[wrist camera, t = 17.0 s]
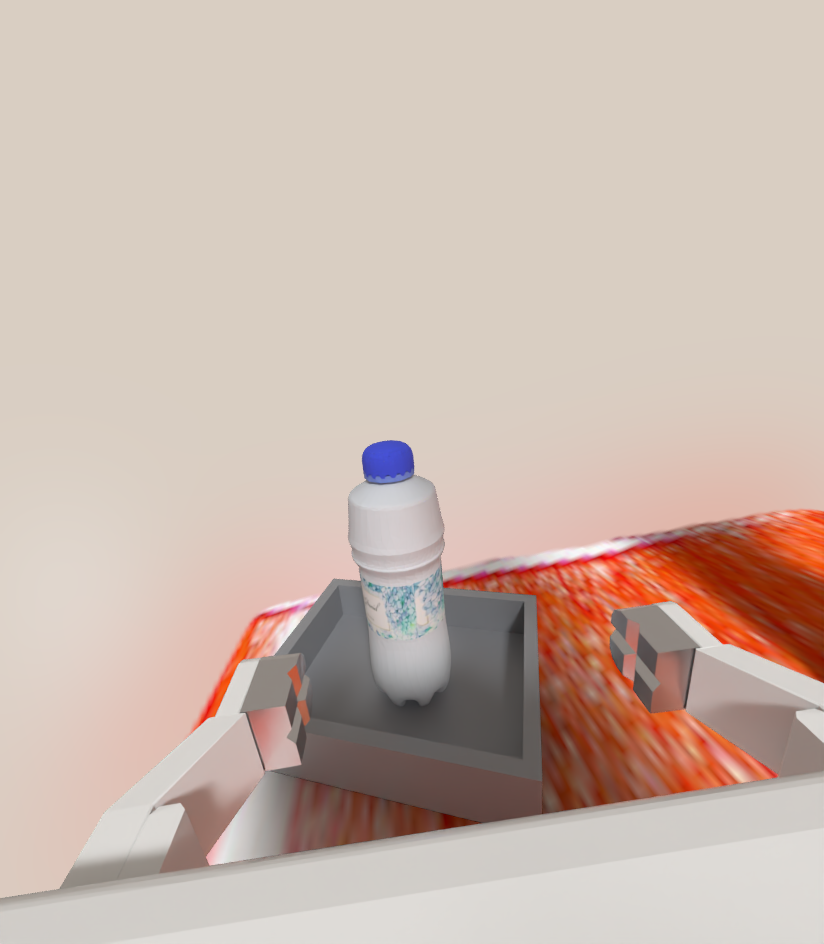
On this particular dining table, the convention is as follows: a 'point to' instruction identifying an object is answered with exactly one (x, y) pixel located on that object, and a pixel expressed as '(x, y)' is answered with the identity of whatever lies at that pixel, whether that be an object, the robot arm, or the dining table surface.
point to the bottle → (401, 574)
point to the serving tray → (427, 709)
